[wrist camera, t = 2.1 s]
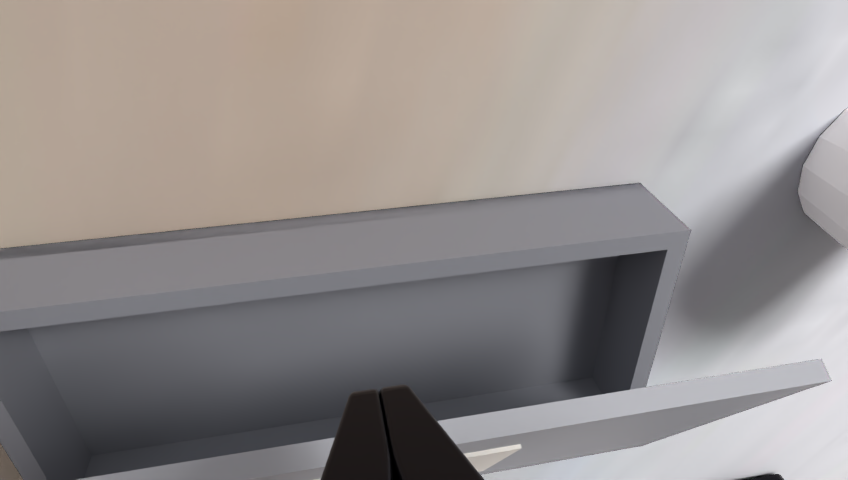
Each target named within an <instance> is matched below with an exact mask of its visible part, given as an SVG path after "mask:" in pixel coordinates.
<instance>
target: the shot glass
mask: <svg viewBox="0 0 848 480" xmlns="http://www.w3.org/2000/svg"><path fill="white" fill-rule="evenodd" d="M798 195H799V198H800V202H801V205H802V208H803V212H804V213H805V214H806V215H807V216H809V217H810V218H811V219H812V220H813V221H814V222H815V223H817V224H818V225H819V226H820V227H821V228H822V229H824V230H825V231H826V232H827V233H828V234H829V235H830V236H832V237H833V238H834V239H835V240H836V241H837V242H839V243H840V244H841V245H842V246H843V247H844V248H845V249H847V250H848V108H847V109H845V110H844V111H843V113H842V114H841V115H840V116H839V117H838V118H837V119H836V120H835V121H834V122H833V123H832V124H831V125H830V126H829V127H828V128H827V129H826V130H825V131H824V132H823V133H822V134H821V135H820V136H819V138H818V140H817V142H816V143H815V145H814V147H813V149H812V151H811V152H810V154H809V156H808V158H807V159H806V161H805V163H804V165H803V168H802V173H801V178H800V183H799V188H798Z"/></svg>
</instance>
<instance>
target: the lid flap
mask: <svg viewBox="0 0 848 480" xmlns="http://www.w3.org/2000/svg"><path fill="white" fill-rule="evenodd" d="M830 381H832V380H831V378H830V376H829V374H828V371H827V369H826V367H825V365H824V363H823V361H822V359H817V360H810V361H804V362H798V363H792V364H786V365H780V366H773V367H767V368H761V369H755V370H749V371H743V372H736V373H730V374H724V375H718V376H712V377H706V378H699V379H693V380H687V381H681V382H675V383H669V384H662V385H656V386H650V387H644V388H638V389H632V390H625V391H619V392H613V393H607V394H601V395H595V396H588V397H582V398H576V399H570V400H564V401H558V402H551V403H545V404H539V405H533V406H527V407H521V408H514V409H508V410H502V411H496V412H490V413H484V414H477V415H471V416H465V417H459V418H453V419H447V420H440V421H437V422H438V423H439V424H440V425H441V427H442V428H443V429H444V430H445V431H446V433H447V434H448V435H449V436H450V438H451V439H452V440H453V441H454V443H455V444H456V445H457V446H458V448H459V449H460V450H461V451H462V453H463V454H464V455H465V456H466V458H467V459H468V460H469V461H470V463H471V464H472V465H473V466H474V468H475V469H476V470H477V471H478V472H479V474H480V475H482V474H487V473H493V472H499V471H504V470H510V469H515V468H521V467H526V466H532V465H538V464H543V463H549V462H554V461H560V460H566V459H571V458H577V457H582V456H588V455H594V454H599V453H605V452H610V451H616V450H621V449H627V448H633V447H638V446H643V445H646V444H649V443H652V442H655V441H657V440H660V439H663V438H666V437H669V436H672V435H675V434H678V433H681V432H684V431H687V430H690V429H692V428H695V427H698V426H701V425H704V424H707V423H710V422H713V421H716V420H719V419H722V418H725V417H728V416H730V415H733V414H736V413H739V412H742V411H745V410H748V409H751V408H754V407H757V406H760V405H763V404H765V403H768V402H771V401H774V400H777V399H780V398H783V397H786V396H789V395H792V394H795V393H798V392H800V391H803V390H806V389H809V388H812V387H815V386H818V385H821V384H824V383H827V382H830ZM333 441H334V438H329V439H323V440H317V441H311V442H305V443H298V444H292V445H286V446H280V447H274V448H268V449H261V450H255V451H249V452H243V453H237V454H231V455H224V456H218V457H212V458H206V459H200V460H194V461H187V462H181V463H175V464H169V465H163V466H157V467H150V468H144V469H138V470H132V471H126V472H120V473H113V474H107V475H101V476H95V477H89V478H83V479H76V480H321V477H322V474H323V471H324V468H325V465H326V462H327V459H328V456H329V453H330V450H331V447H332V444H333Z"/></svg>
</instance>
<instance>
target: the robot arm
mask: <svg viewBox="0 0 848 480" xmlns="http://www.w3.org/2000/svg"><path fill="white" fill-rule="evenodd" d="M321 480H484V479H483V477H482V476H481V475H480V474H479V472H478V471H477V470H476V469H475V468H474V466H473V465H472V464H471V463H470V461H469V460H468V459H467V458H466V456H465V455H464V454H463V453H462V451H461V450H460V449H459V448H458V446H457V445H456V444H455V443H454V441H453V440H452V439H451V438H450V436H449V435H448V434H447V433H446V431H445V430H444V429H443V428H442V427H441V425H440V424H439V423H438V422H437V420H436V419H435V418H434V417H433V415H432V414H431V413H430V412H429V410H428V409H427V408H426V407H425V405H424V404H423V403H422V402H421V400H420V399H419V398H418V397H417V395H416V394H415V393H414V392H413V390H412V389H411V388H410V387H409V386H407V385H405V384H402V385H395V386H388V387H383V388H382V389H381V390H380V392H379V391H378V390H376V389H368V390H362V391H355V392H352V393H351V394H350V395H349V397H348V400H347V403H346V406H345V409H344V412H343V415H342V418H341V420H340V423H339V426H338V429H337V432H336V435H335V438H334V441H333V444H332V447H331V450H330V453H329V456H328V459H327V462H326V465H325V468H324V471H323V474H322V477H321ZM749 480H784V479H783V478H782V476H781V475H779V474H775V475H770V476H764V477H759V478H754V479H749Z"/></svg>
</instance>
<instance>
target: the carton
mask: <svg viewBox="0 0 848 480" xmlns="http://www.w3.org/2000/svg"><path fill="white" fill-rule="evenodd" d="M690 232H691V230H690V229H689V228H688V227H687V226H686V225H685V224H684V223H683V222H682V221H681V220H680V219H678V218H677V217H676V216H675V215H674V214H673V213H672V212H671V211H670V210H669V209H668V208H667V207H666V206H664V205H663V204H662V203H661V202H660V201H659V200H658V199H657V198H656V197H655V196H654V195H653V194H652V193H650V192H649V191H648V190H647V189H646V188H645V187H644V186H643V185H642V184H641V183H635V184H625V185H615V186H605V187H596V188H586V189H576V190H566V191H557V192H547V193H537V194H528V195H518V196H508V197H498V198H489V199H479V200H469V201H459V202H450V203H440V204H430V205H420V206H411V207H401V208H391V209H381V210H372V211H362V212H352V213H342V214H333V215H323V216H313V217H303V218H294V219H284V220H274V221H265V222H255V223H245V224H235V225H226V226H216V227H206V228H196V229H187V230H177V231H167V232H157V233H148V234H138V235H128V236H118V237H109V238H99V239H89V240H79V241H70V242H60V243H50V244H40V245H31V246H21V247H11V248H1V249H0V443H1V445H2V446H3V448H4V449H5V451H6V453H7V454H8V456H9V458H10V459H11V461H12V462H13V464H14V466H15V467H16V469H17V470H18V472H19V474H20V475H21V477H22V478H23V480H76V479H83V478H89V477H95V476H101V475H107V474H113V473H120V472H126V471H132V470H138V469H144V468H150V467H157V466H163V465H169V464H175V463H181V462H187V461H194V460H200V459H206V458H212V457H218V456H224V455H231V454H237V453H243V452H249V451H255V450H261V449H268V448H274V447H280V446H286V445H292V444H298V443H305V442H311V441H317V440H323V439H329V438H335V435H336V432H337V429H338V426H339V423H340V420H341V418H342V415H343V412H344V409H345V406H346V403H347V400H348V397H349V395H350V394H351V393H352V392H355V391H362V390H368V389H376V390H378V391H379V392H380V390H381V389H382V388H383V387H388V386H395V385H402V384H405V385H407V386H409V387H410V388H411V389H412V390H413V392H414V393H415V394H416V395H417V397H418V398H419V399H420V400H421V402H422V403H423V404H424V405H425V407H426V408H427V409H428V410H429V412H430V413H431V414H432V415H433V417H434V418H435V419H436V420H437V421H440V420H447V419H453V418H459V417H465V416H471V415H477V414H484V413H490V412H496V411H502V410H508V409H514V408H521V407H527V406H533V405H539V404H545V403H551V402H558V401H564V400H570V399H576V398H582V397H588V396H595V395H601V394H607V393H613V392H619V391H625V390H632V389H638V388H644V387H646V385H647V381H648V378H649V374H650V371H651V367H652V364H653V360H654V357H655V353H656V350H657V346H658V343H659V340H660V336H661V333H662V329H663V326H664V322H665V319H666V315H667V312H668V308H669V305H670V301H671V298H672V295H673V291H674V288H675V284H676V281H677V277H678V274H679V270H680V267H681V263H682V260H683V256H684V253H685V250H686V246H687V243H688V239H689V236H690Z"/></svg>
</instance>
